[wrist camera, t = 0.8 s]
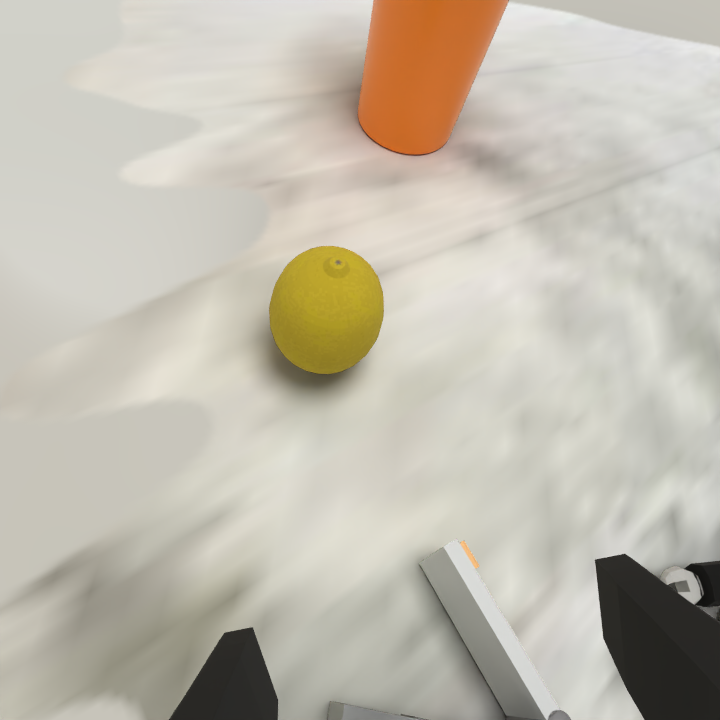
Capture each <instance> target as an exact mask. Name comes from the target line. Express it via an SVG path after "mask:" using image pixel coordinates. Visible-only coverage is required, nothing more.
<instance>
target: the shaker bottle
mask: <svg viewBox="0 0 720 720" xmlns="http://www.w3.org/2000/svg"><path fill="white" fill-rule="evenodd" d="M508 2H509V0H374V1H373V8H372V15H371V22H370V29H369V36H368V43H367V50H366V57H365V64H364V71H363V78H362V85H361V92H360V99H359V106H358V118H359V122H360V124H361V126H362V128H363V130H364V131H365V132H366V134H367V135H368V136H369V137H370V138H372V139H373V140H374V141H375V142H377V143H378V144H380V145H381V146H383V147H385V148H388V149H390V150H392V151H396V152H399V153H404V154H415V155H419V154H427V153H430V152H433V151H436V150H438V149H439V148H441V147H442V146H443V145H444V144H445V143H446V142H447V141H448V139H449V137H450V135H451V133H452V130H453V128H454V126H455V124H456V121H457V119H458V117H459V114H460V112H461V110H462V107H463V105H464V103H465V101H466V98H467V96H468V94H469V91H470V89H471V87H472V84H473V82H474V80H475V78H476V75H477V73H478V71H479V68H480V66H481V64H482V61H483V59H484V57H485V55H486V52H487V50H488V48H489V45H490V43H491V41H492V38H493V36H494V34H495V32H496V29H497V27H498V25H499V22H500V20H501V18H502V15H503V13H504V11H505V9H506V6H507V4H508Z"/></svg>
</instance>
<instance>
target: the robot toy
mask: <svg viewBox="0 0 720 720" xmlns="http://www.w3.org/2000/svg"><path fill="white" fill-rule="evenodd" d="M660 580H661V581H662V582H664V583H665V584H667V585H669V584H671V583H674V582H675V585H676V588H677V591H678V592H677V593H679V594H680V595H681V596H683V597H684V598H686V599H687V600H688V601H690V602H691V603H693V604H694V605H699V606H703V607H711V606H720V561H715V562H705V563H695V564H690V565H689V566H687V567H686V568H685V569H682V568H680V567H677V566H674V567H671V568H669V569H666V570H664V571H663V573H662V574H661V578H660Z"/></svg>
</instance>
